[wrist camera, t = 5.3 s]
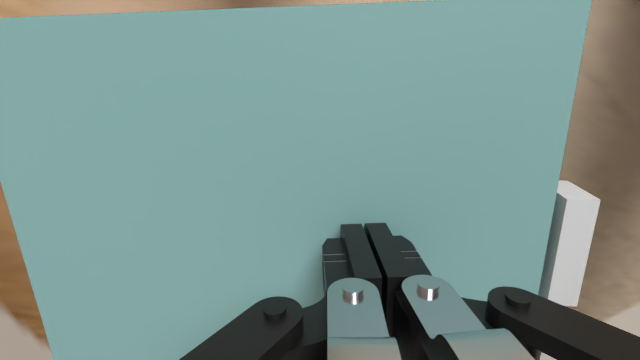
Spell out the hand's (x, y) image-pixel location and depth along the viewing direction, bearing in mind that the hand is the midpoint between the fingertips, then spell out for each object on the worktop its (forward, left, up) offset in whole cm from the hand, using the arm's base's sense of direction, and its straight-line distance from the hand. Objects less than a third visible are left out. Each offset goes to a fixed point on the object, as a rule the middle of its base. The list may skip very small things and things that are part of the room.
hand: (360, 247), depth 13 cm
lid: (+3, 0, -3) cm, 4 cm away
